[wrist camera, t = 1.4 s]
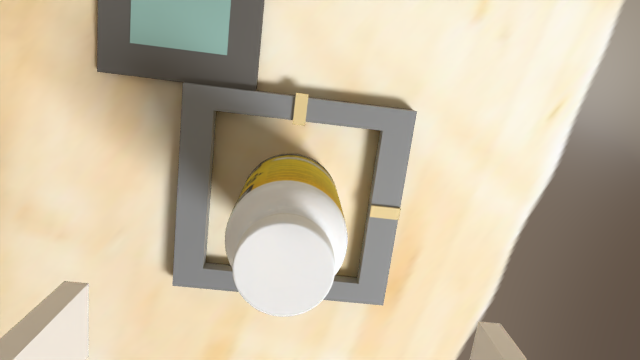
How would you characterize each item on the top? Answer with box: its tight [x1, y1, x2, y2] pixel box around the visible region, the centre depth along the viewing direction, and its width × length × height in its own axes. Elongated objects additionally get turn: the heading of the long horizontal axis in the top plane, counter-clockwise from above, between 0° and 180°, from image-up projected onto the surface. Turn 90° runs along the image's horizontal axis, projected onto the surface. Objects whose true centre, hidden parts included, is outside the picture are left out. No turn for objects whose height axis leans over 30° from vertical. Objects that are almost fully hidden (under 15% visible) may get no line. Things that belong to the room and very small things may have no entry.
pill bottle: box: [225, 154, 348, 316], centre depth 26 cm, size 6×6×12 cm
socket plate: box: [173, 82, 417, 305], centre depth 31 cm, size 15×14×1 cm
